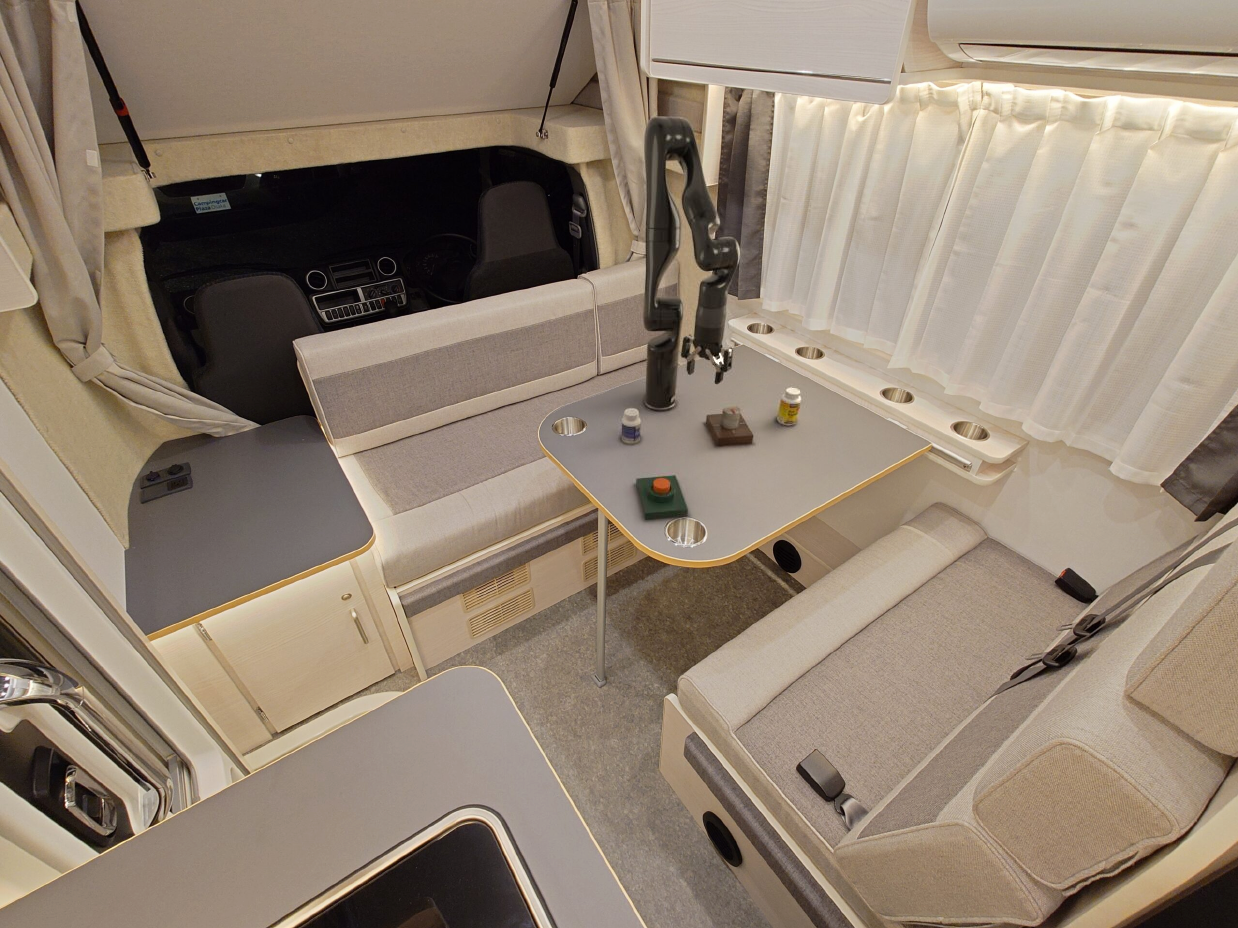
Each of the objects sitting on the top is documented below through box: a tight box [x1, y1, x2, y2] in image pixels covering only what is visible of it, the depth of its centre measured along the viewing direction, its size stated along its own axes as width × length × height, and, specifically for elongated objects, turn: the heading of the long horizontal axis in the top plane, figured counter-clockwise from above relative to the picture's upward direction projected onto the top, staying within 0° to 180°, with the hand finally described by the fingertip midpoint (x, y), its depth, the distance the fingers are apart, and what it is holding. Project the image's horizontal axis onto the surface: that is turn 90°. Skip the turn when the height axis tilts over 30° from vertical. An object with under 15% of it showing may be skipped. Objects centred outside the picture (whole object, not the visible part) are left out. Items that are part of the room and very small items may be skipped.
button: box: [653, 478, 670, 494], centre depth 133 cm, size 4×4×2 cm
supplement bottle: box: [776, 387, 802, 426], centre depth 162 cm, size 6×6×10 cm
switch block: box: [635, 474, 689, 521], centre depth 135 cm, size 13×10×4 cm
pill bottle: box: [620, 407, 642, 445], centre depth 154 cm, size 5×5×9 cm
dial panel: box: [705, 413, 754, 448], centre depth 158 cm, size 12×10×3 cm
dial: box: [721, 404, 741, 429], centre depth 156 cm, size 5×5×5 cm
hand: (703, 378), depth 151 cm, fingers open, 8 cm apart
